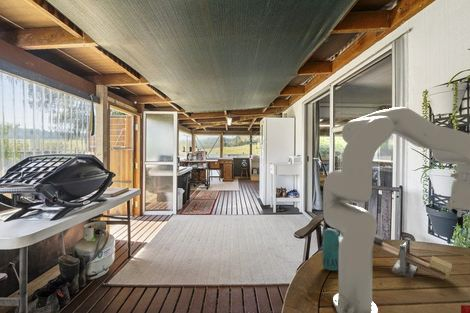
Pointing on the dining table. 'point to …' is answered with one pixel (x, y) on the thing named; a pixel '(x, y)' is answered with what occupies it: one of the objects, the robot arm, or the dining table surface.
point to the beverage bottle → (330, 249)
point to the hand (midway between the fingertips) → (469, 228)
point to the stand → (404, 262)
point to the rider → (440, 265)
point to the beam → (410, 257)
